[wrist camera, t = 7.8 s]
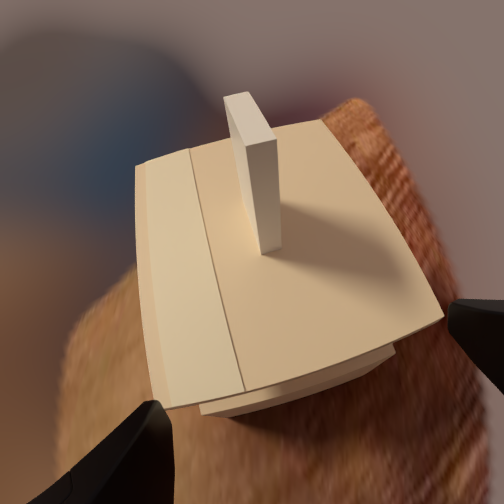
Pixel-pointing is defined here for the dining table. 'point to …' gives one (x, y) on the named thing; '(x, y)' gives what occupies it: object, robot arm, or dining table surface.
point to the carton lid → (266, 262)
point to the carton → (297, 386)
